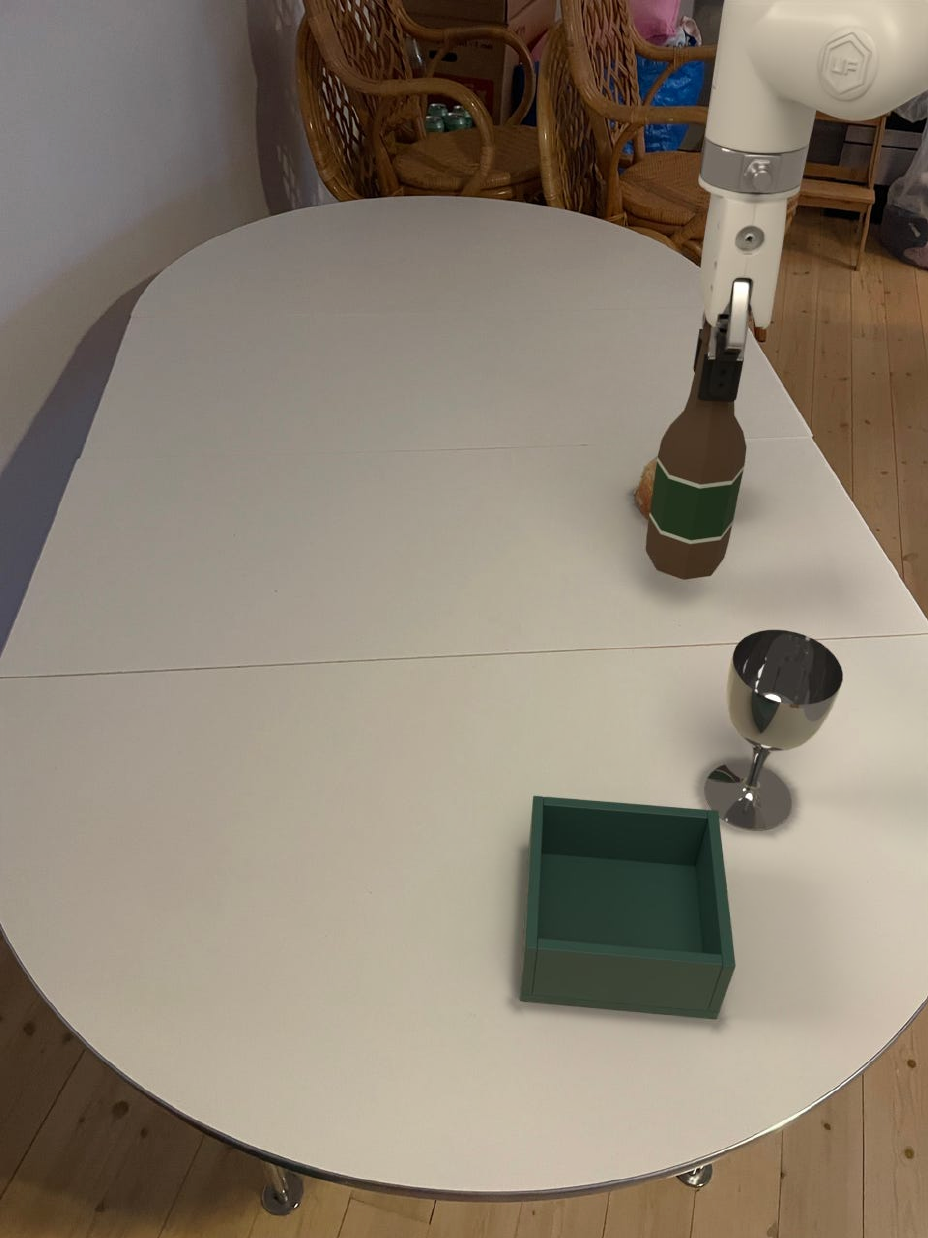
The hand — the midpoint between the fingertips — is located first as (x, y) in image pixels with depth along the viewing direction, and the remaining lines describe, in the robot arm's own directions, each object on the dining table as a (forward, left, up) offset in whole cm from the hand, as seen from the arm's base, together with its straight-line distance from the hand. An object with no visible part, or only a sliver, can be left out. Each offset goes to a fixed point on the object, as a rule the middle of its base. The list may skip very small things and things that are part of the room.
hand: (714, 384), depth 89 cm
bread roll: (-2, -16, -24) cm, 29 cm away
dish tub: (+6, +39, -24) cm, 46 cm away
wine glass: (-5, +25, -24) cm, 35 cm away
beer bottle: (0, 0, -19) cm, 19 cm away
